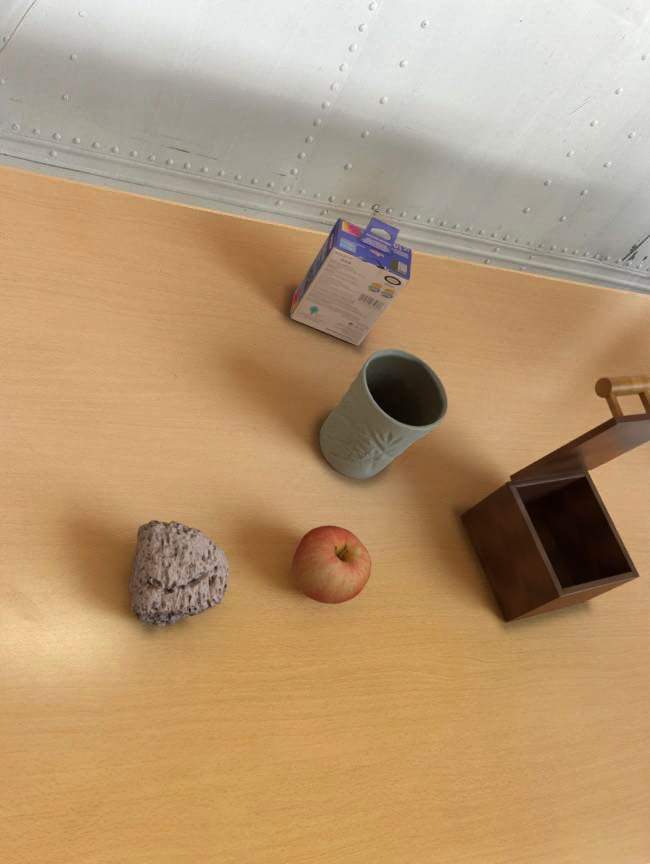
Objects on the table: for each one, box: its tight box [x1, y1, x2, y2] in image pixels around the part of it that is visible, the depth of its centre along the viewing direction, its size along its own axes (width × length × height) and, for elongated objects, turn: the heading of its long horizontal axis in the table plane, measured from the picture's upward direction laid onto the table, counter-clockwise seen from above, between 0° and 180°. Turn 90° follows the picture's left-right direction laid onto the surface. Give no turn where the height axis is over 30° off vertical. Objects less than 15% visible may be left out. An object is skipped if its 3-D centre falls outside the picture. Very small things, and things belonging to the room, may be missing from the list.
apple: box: [291, 525, 372, 605], centre depth 78 cm, size 8×8×8 cm
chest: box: [460, 471, 641, 624], centre depth 90 cm, size 14×13×9 cm
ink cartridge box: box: [289, 216, 413, 347], centre depth 92 cm, size 10×6×14 cm, turn 81°
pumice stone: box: [128, 519, 230, 628], centre depth 73 cm, size 10×8×10 cm
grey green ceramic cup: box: [318, 348, 449, 480], centre depth 86 cm, size 10×10×12 cm
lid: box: [509, 373, 650, 483], centre depth 82 cm, size 14×13×6 cm
